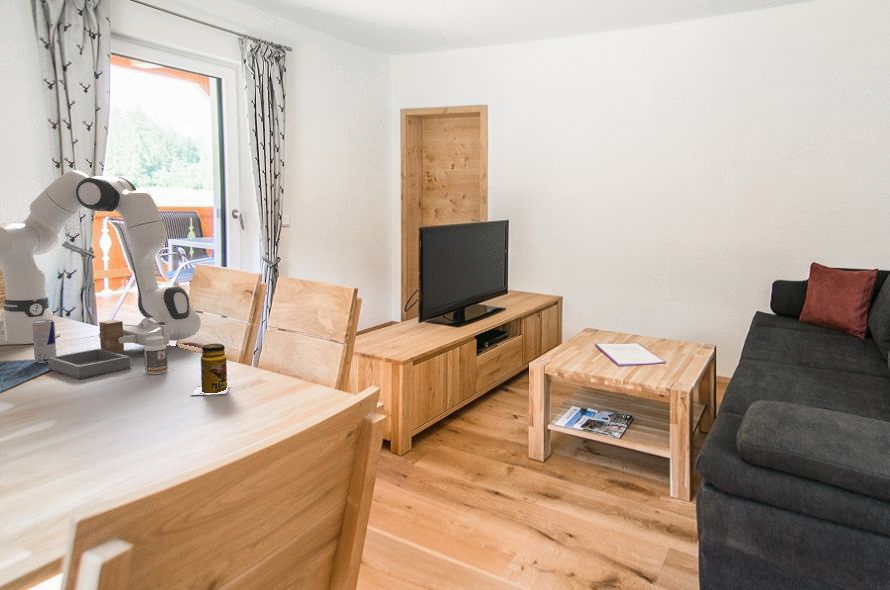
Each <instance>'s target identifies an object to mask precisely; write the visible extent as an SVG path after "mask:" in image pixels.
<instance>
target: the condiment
mask: <svg viewBox="0 0 890 590" xmlns="http://www.w3.org/2000/svg"><path fill="white" fill-rule="evenodd" d="M225 348H226V347H225V345H224V344H222V343H208V344H204V345H203V346H202V348H201V349H202V351H201V357H200V374H201V375H200V379H201V385H200V386H201V387H202V392H204V393H218V392H221V391H224V390H226V388H227V386H228V373H227V372H228V368H227V367H228V366H227V361H228V360H227V355H226V354H225V353H226V351H225ZM200 386H198V387H200Z"/></svg>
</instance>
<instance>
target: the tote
mask: <svg viewBox="0 0 890 590" xmlns="http://www.w3.org/2000/svg"><path fill="white" fill-rule="evenodd" d="M47 365H48V370H49V369H50V370H52V371H51V372H53V371H54V372H53V373H56V374H61V375H63V376H67V377H69V378H72V379H75V380H78V381H82V380H85V379H90V378H93V377H94V378H95V377H98V376H104V375H109V374H112V373H117V372H122V371H125V370H130V369H132V366H131V356H130V355H126V354H124V355H122V354H118V353H115V352H111V351H107V350H103V349H101V348H99V347H98V348H94V349H87V350H82V351H77V352H71V353H66V354H60V355H56V356H54V357H49V358H48V363H47ZM50 370H49V371H50Z"/></svg>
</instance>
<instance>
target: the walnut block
mask: <svg viewBox="0 0 890 590" xmlns="http://www.w3.org/2000/svg"><path fill="white" fill-rule="evenodd" d="M98 324H99V333H100V338H99V340H100V343H99V344H100V349H103V350H107V351H111V352H115V353H118V354H122V355H125V343H117V337H121V336H123V324H124V323H123V321H122V320H116V319H110V320H109V319H108V320H103V321H99V322H98Z"/></svg>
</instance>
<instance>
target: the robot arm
mask: <svg viewBox="0 0 890 590" xmlns="http://www.w3.org/2000/svg"><path fill="white" fill-rule="evenodd" d="M84 207H85V208H86V209H88V210H91V211H95V212H116V213H118V214H119V215H120V216H121V218H122V220H123V223H124V226H125V229H126V232H127V235H128V236H127V237H128V239H129V246H130V261H131V265H132V271H133V274H134V278H135V279H134V280H135V282H136V286H137V293H138V298H137V299H138V300H137V305H138V309H139V312H140V314H141V315H142V316H143V319H142V320H141V321H140V323H138V324H135V323H123V336H121V337H117V343H124V344H129V343H130V344H135V345H140V346H144V347H145V346H147V344H146V340H145V339H146V338H147V337H152V336H163V337H164V342H163V344H164V345H169V344H170V341H175V342H176V341H180V340H185V339H189V338H190V337H194V336H195V335H196V334H197V333H198V332H199V331H200V329H201V325H202V324H201V322H202V321H201V317H200V316H199V314H198V313H197V312H195V310H194V309H193V307H192V306H191V303H190V298H189V296H188V293H187V291H186V290H185V289H184V288H182V287H181V286H179V285H170V286H165V287H161V288H160V287H159V285H158V280H157V277H156V276H157V275H156V272H155V268H154V267H155V266H154V261H155V258H156V256H157V255H158V253H159V252H160V251H161V249H163V247H164V245H165V244H166V241H167V230H166V227H165V224H164V221H163V218H162V215H161V212H160V210H159V208H158V205H157V204H156V202H155V200H154V198H153V197H152V195H151V194H150V193H148V192H146V191H144V190H137V188H136V186H135V185H134V184H133V183H132V182H131V181H130V180H128V179H126V178H123V177H121V176H119V177H117V176H110V175H104V176H102V175H99V176H97V175H96V176H95V175H93V176H88V175H87V174H86V173H84V172H82V171H80V170H73V169H72V170H68V171H67V172H65V173H64V174H62V175H61V176H59V177H58V178H56V179H55V180H54V181H53V182H52V183H50V184H49V185H48V186H47V187H46V188H45V189H44V190H43V191H42V192H41V193H40V194H39V195H38V196H36V198H35V199H33V201H32V202H30V205H29V211H30V213H29V215H28V216H27V218H26V219H24V220H23V221H19V222H7V223H6V222H4V223H0V270H1V272H2V275H3V282H4V291H5V293H4V294H5V298H4V300H3V301H4V302H3V311H2V313H1V314H0V346H2V345H29V344H33V330H32V324H33V321H36V320H53V322H54V326H55V338H57V337H59V336H61V332H59V331H57V329H56V328H57V327H56V322H55V315H54V312H52V311H51V310H50V309H49V308H50V301H49V297H48V295H47V283H46V275H45V272H43V271H42V270H41V269H39V267H38V266H37V263H36V262H35V259H34V256H40V255H44V254H47V253H49V252H51V251H53V250H55V248H56V247H57V246H58V243H59V235H60V232H61V230H62V229H63V228H64V226H65V225H67V223H69V222H70V221H71V219H72V218H74V217H75V216H76V215H77V214H78V213H79V212H80V211H81V209H83V208H84ZM144 317H145V318H144ZM98 335H99V336H98V337H99V339H100V332H99V333H98Z"/></svg>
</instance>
